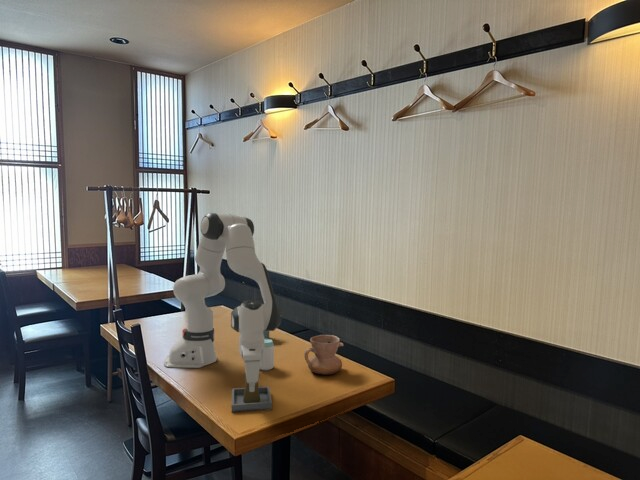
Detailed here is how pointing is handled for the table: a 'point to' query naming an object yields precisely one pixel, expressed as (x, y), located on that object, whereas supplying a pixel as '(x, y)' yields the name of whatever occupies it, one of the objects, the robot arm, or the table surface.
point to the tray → (242, 407)
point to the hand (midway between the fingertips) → (251, 385)
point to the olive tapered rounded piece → (251, 393)
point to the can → (267, 355)
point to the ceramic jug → (324, 355)
